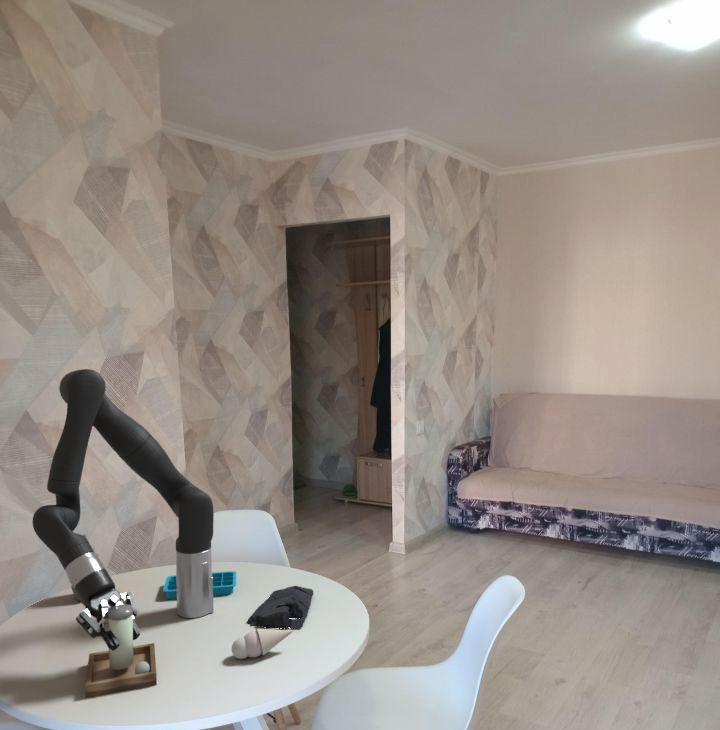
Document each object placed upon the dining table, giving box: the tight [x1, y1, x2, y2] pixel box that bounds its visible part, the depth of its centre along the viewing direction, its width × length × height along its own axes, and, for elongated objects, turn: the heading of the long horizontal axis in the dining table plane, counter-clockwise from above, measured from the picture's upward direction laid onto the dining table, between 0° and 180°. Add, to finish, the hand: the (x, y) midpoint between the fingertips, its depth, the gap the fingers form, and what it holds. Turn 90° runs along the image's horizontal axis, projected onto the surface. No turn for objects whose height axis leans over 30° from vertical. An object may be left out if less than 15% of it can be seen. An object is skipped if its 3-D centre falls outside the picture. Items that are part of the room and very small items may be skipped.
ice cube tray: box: [162, 570, 237, 600], centre depth 186 cm, size 12×20×3 cm, turn 101°
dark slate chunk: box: [246, 585, 314, 630], centre depth 171 cm, size 15×22×5 cm
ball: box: [135, 661, 150, 674], centre depth 137 cm, size 3×3×3 cm
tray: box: [84, 642, 158, 698], centre depth 140 cm, size 14×14×2 cm
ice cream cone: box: [231, 628, 295, 660], centre depth 148 cm, size 6×6×15 cm
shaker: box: [107, 603, 134, 670], centre depth 140 cm, size 5×5×12 cm
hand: (126, 642), depth 139 cm, fingers closed on shaker, 5 cm apart
